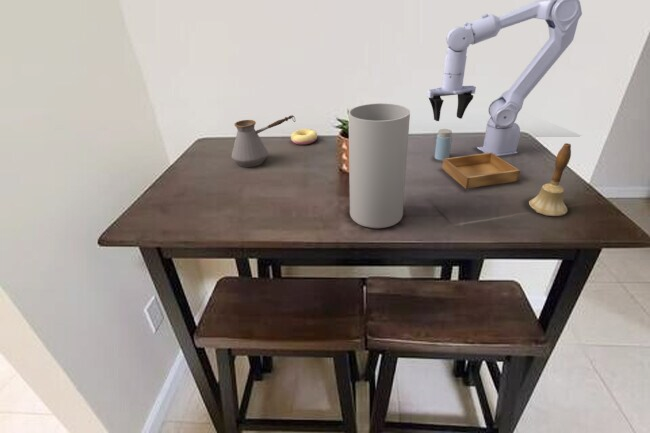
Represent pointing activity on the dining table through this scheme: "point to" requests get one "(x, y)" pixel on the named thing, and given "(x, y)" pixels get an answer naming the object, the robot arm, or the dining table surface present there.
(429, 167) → the dining table surface
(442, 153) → the shaker
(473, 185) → the wooden tray
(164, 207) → the dining table surface
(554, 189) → the hand bell
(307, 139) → the donut
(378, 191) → the cylinder vase
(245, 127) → the coffee pot
